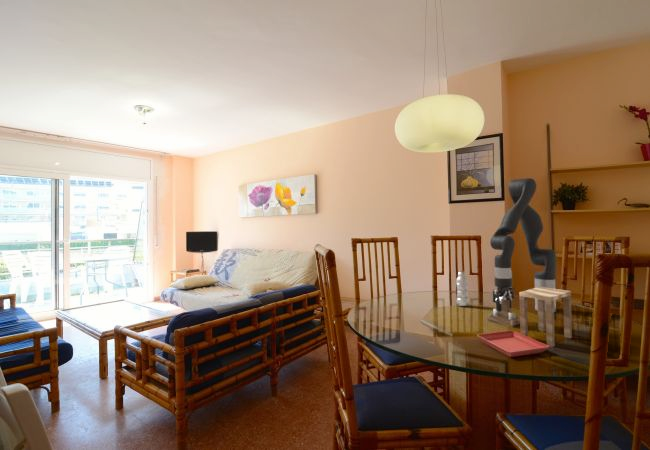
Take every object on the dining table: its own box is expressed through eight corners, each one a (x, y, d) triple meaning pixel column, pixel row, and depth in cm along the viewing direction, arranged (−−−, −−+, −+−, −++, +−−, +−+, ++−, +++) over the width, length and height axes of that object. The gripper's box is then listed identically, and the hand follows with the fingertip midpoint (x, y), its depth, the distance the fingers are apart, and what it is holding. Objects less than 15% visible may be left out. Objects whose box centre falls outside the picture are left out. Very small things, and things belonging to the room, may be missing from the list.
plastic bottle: (470, 307, 183) (469, 272, 183) (457, 307, 184) (456, 272, 184) (467, 304, 189) (466, 270, 189) (455, 304, 191) (454, 270, 190)
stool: (540, 329, 144) (539, 286, 144) (571, 337, 134) (570, 291, 134) (520, 337, 136) (519, 292, 135) (552, 347, 125) (551, 297, 125)
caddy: (497, 317, 163) (496, 296, 163) (521, 323, 153) (521, 301, 153) (487, 320, 159) (487, 298, 159) (512, 327, 149) (511, 303, 149)
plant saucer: (550, 354, 120) (550, 345, 120) (509, 360, 116) (509, 351, 116) (512, 337, 137) (512, 329, 137) (476, 342, 134) (475, 334, 133)
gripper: (503, 273, 163) (504, 305, 163) (487, 277, 155) (488, 310, 155) (519, 275, 156) (519, 308, 156) (502, 279, 149) (503, 314, 149)
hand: (504, 309), depth 156 cm, fingers open, 8 cm apart
